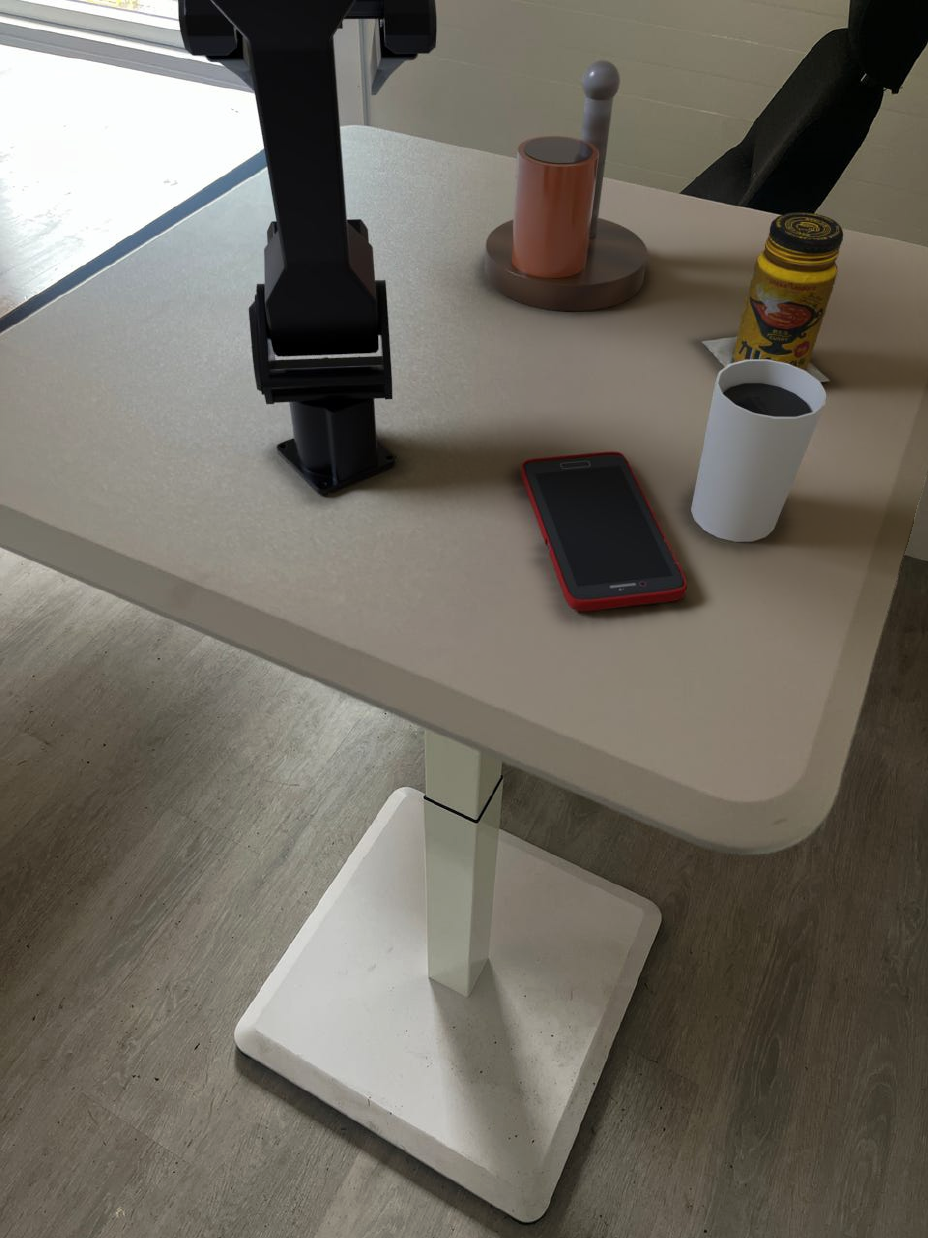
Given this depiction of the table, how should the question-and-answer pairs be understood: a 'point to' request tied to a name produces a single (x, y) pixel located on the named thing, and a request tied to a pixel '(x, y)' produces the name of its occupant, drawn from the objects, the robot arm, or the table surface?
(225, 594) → the table surface
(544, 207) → the cup
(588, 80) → the towel holder
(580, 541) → the cell phone
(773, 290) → the condiment
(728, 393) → the white coffee cup
